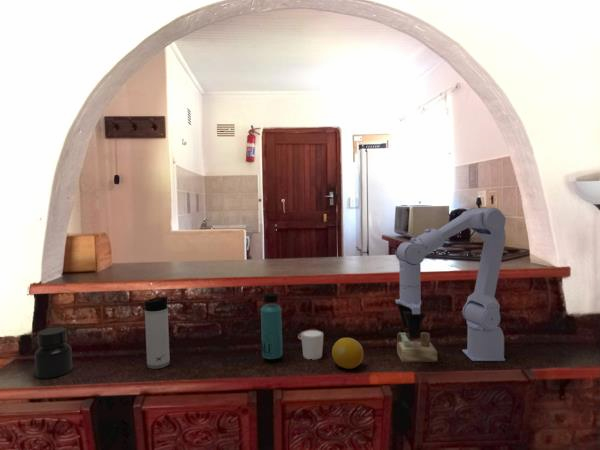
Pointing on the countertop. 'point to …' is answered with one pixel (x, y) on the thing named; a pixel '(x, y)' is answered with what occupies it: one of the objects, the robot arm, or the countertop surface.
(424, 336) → the lid
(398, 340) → the toolbox
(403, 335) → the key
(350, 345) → the fruit
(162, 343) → the travel mug
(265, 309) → the beverage bottle
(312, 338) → the white mug
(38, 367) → the ink bottle
